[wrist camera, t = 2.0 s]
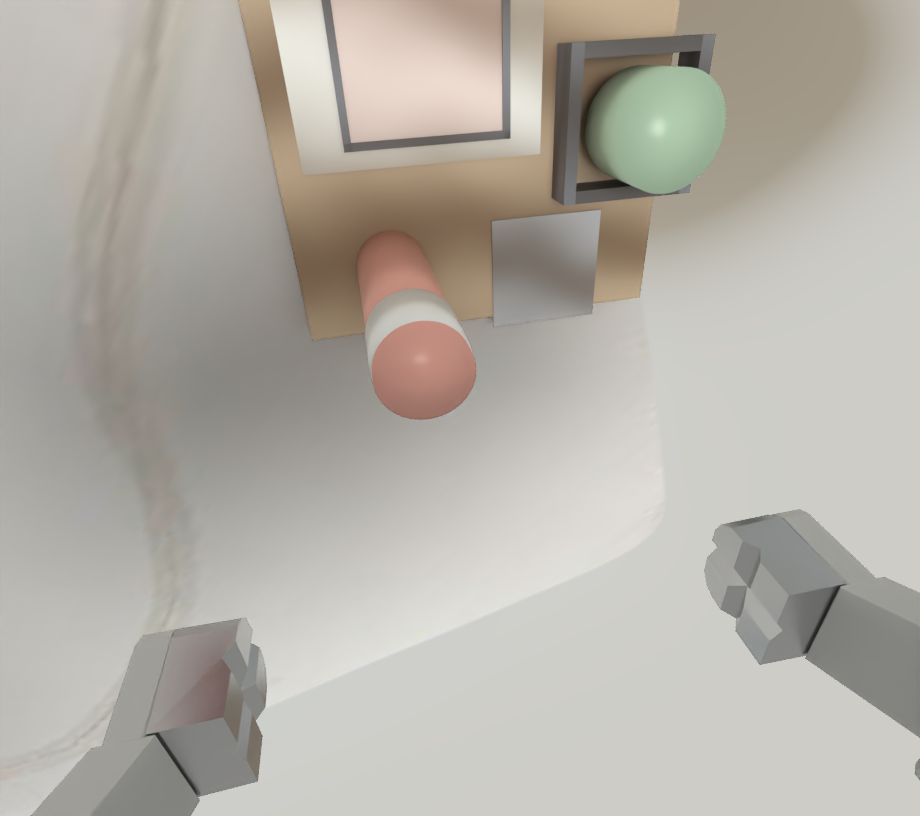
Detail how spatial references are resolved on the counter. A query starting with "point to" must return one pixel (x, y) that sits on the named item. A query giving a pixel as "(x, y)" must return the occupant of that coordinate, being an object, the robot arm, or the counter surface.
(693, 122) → the button
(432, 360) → the marker
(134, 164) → the counter surface
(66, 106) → the counter surface
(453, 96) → the picture board
